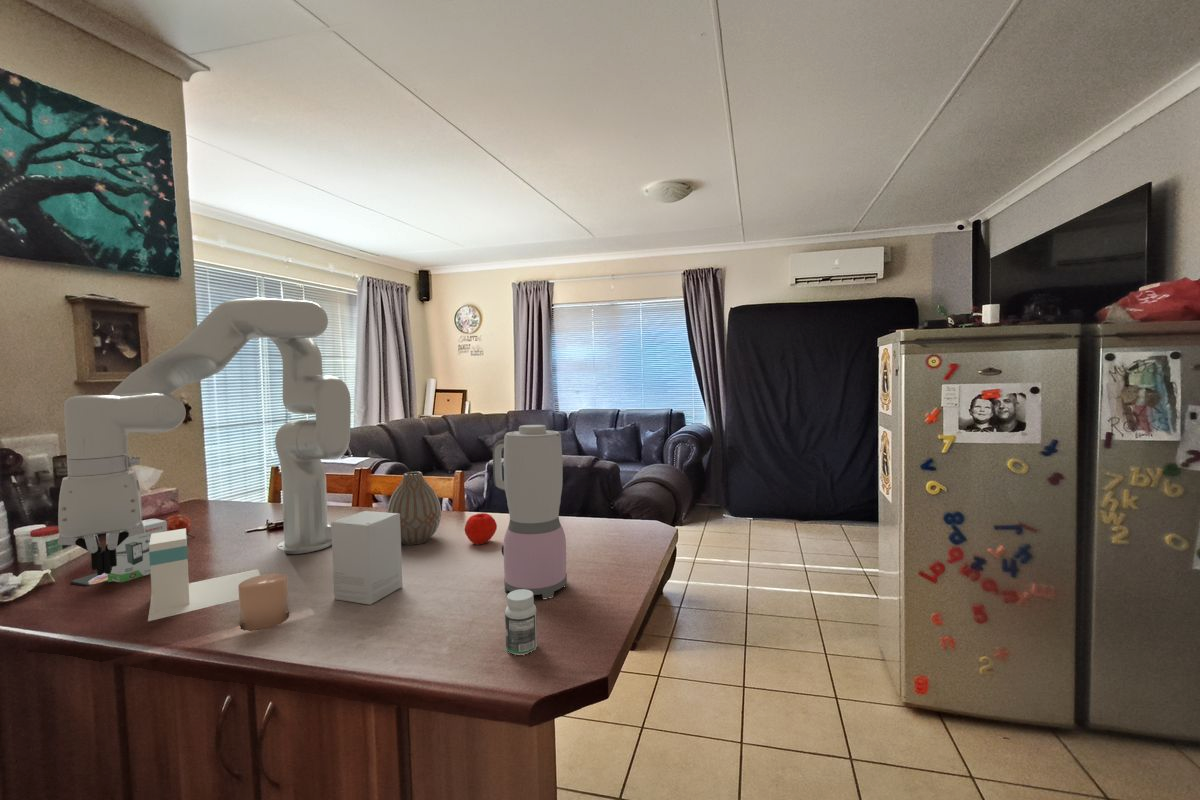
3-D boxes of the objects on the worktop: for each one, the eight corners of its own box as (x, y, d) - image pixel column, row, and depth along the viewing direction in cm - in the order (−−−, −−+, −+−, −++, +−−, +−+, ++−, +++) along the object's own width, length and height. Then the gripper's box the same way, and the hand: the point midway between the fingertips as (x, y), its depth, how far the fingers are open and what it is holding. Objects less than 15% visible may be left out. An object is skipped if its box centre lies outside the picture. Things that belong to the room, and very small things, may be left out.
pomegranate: (181, 545, 136) (141, 530, 129) (201, 520, 138) (163, 505, 132) (188, 554, 131) (147, 539, 124) (209, 528, 134) (170, 512, 127)
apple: (493, 548, 123) (492, 518, 123) (460, 548, 123) (460, 518, 123) (500, 537, 131) (499, 509, 131) (469, 538, 131) (468, 509, 131)
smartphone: (173, 559, 117) (91, 585, 103) (173, 563, 117) (92, 589, 103) (150, 556, 119) (68, 581, 105) (151, 559, 119) (68, 585, 105)
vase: (395, 534, 136) (393, 469, 135) (446, 531, 137) (444, 467, 136) (380, 550, 122) (377, 479, 122) (435, 548, 124) (433, 477, 123)
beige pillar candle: (285, 607, 92) (283, 570, 92) (292, 621, 87) (290, 581, 87) (238, 620, 88) (236, 580, 88) (242, 635, 82) (240, 593, 82)
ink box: (121, 588, 102) (117, 531, 101) (107, 585, 104) (103, 528, 103) (170, 573, 110) (167, 519, 109) (156, 570, 112) (153, 517, 111)
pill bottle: (514, 638, 80) (513, 586, 80) (542, 642, 79) (541, 589, 79) (500, 654, 76) (499, 599, 75) (529, 659, 74) (528, 602, 74)
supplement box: (404, 586, 101) (402, 512, 100) (370, 606, 92) (367, 525, 92) (368, 581, 104) (365, 509, 103) (332, 599, 95) (329, 521, 95)
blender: (578, 581, 102) (576, 424, 101) (546, 606, 91) (543, 430, 90) (514, 569, 109) (511, 421, 108) (477, 591, 98) (473, 427, 97)
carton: (189, 589, 98) (186, 528, 98) (189, 603, 92) (186, 538, 91) (154, 596, 95) (151, 533, 94) (152, 612, 88) (148, 544, 88)
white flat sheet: (258, 574, 108) (257, 568, 108) (267, 599, 96) (267, 592, 96) (152, 597, 98) (152, 591, 98) (148, 628, 85) (147, 621, 85)
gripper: (157, 459, 94) (162, 556, 95) (39, 469, 85) (46, 577, 86) (156, 464, 89) (161, 567, 89) (29, 475, 79) (36, 591, 80)
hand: (105, 572), depth 87 cm, fingers closed
